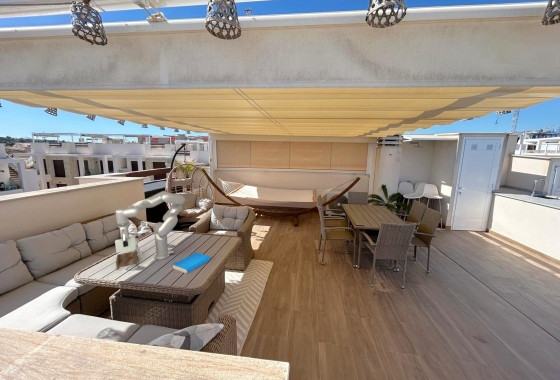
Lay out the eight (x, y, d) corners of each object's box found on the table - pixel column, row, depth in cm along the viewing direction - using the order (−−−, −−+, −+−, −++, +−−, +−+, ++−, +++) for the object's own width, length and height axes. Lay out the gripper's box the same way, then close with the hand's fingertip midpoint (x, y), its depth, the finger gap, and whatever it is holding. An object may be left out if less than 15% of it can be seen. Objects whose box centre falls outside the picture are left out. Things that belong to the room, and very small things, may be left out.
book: (172, 264, 182) (196, 251, 204) (172, 269, 182) (196, 256, 204) (187, 269, 174) (210, 256, 196) (187, 274, 175) (210, 260, 197)
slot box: (137, 258, 197) (136, 250, 196) (137, 265, 185) (136, 257, 184) (118, 262, 190) (117, 254, 189) (116, 269, 178) (115, 261, 177)
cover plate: (135, 248, 185) (134, 236, 183) (135, 249, 184) (134, 237, 182) (116, 251, 179) (115, 240, 177) (116, 252, 177) (114, 241, 175)
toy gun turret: (144, 250, 212) (142, 232, 209) (140, 257, 200) (139, 238, 196) (129, 252, 208) (127, 234, 205) (125, 258, 196) (123, 239, 192)
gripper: (128, 226, 172) (131, 248, 176) (129, 220, 185) (131, 241, 189) (116, 228, 168) (119, 250, 172) (118, 222, 182) (120, 243, 185)
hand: (125, 245), depth 180 cm, fingers closed on cover plate, 2 cm apart
